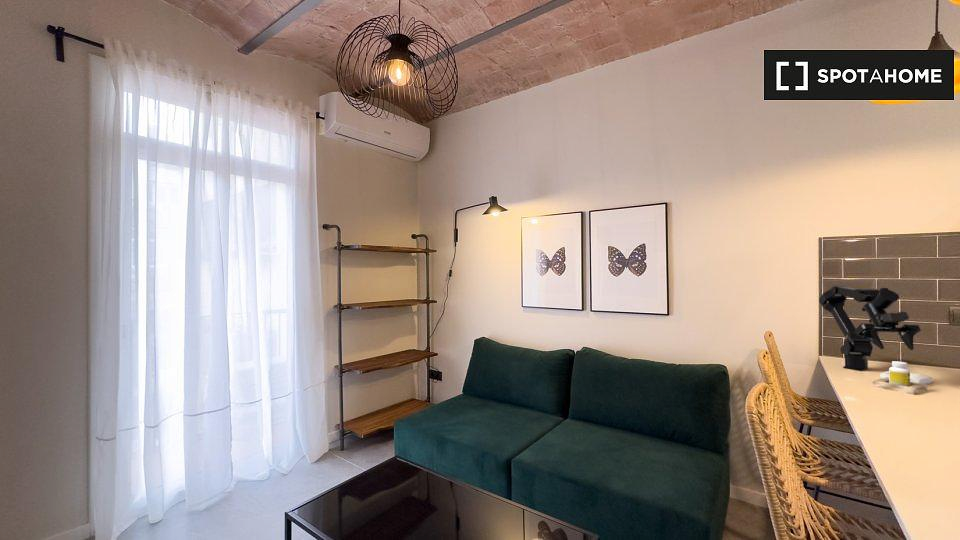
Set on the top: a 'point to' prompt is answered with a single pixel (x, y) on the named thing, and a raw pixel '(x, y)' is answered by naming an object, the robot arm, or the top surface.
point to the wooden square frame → (900, 386)
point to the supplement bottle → (899, 374)
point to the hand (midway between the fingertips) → (897, 349)
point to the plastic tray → (912, 378)
